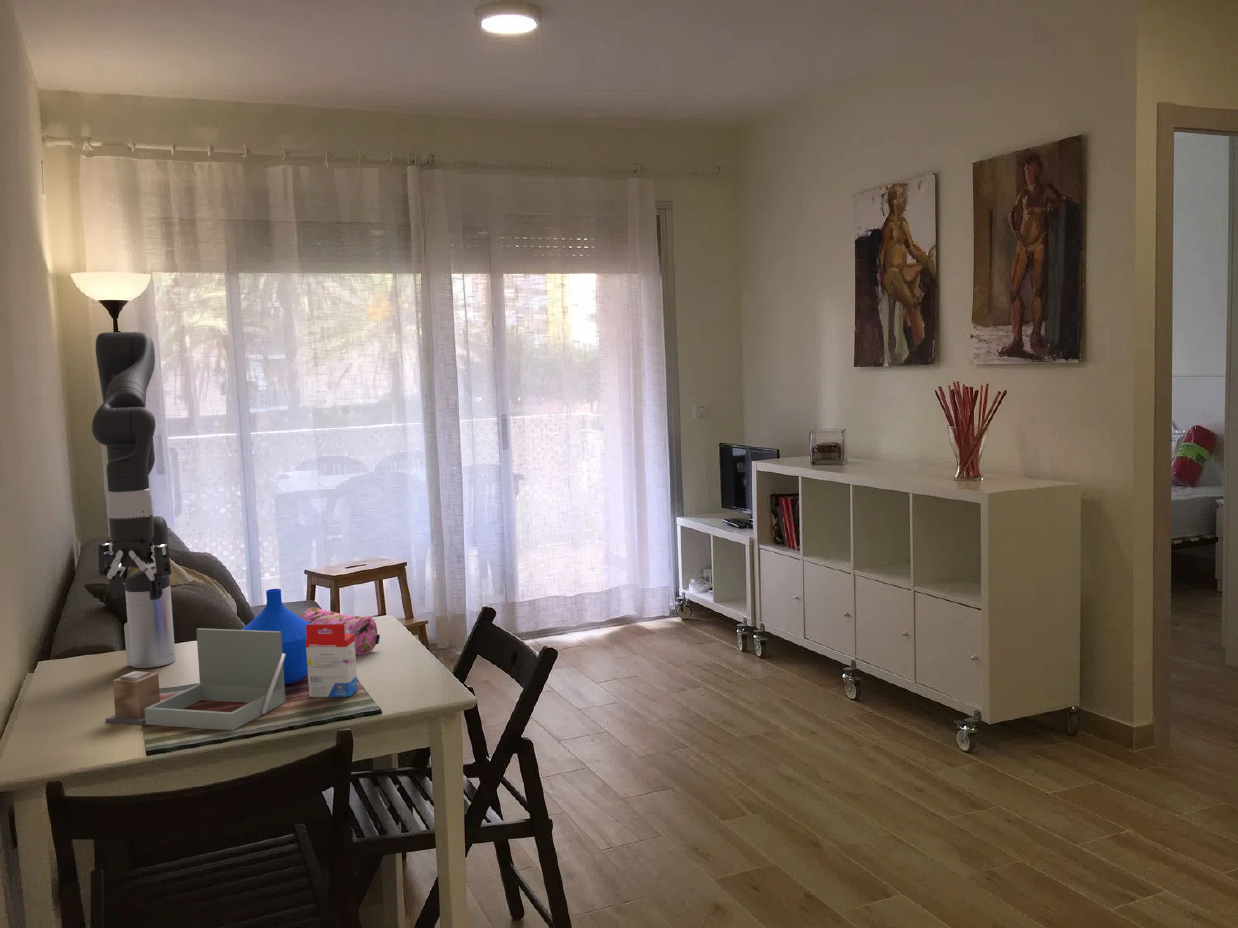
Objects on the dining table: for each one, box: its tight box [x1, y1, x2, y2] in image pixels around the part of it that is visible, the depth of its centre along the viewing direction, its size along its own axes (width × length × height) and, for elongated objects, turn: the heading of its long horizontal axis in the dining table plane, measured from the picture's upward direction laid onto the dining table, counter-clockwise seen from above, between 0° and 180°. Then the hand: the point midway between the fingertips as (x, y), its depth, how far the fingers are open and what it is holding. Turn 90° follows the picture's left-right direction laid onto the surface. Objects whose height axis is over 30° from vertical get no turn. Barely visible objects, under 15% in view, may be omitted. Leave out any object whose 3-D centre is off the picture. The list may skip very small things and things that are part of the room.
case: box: [145, 627, 286, 731], centre depth 193 cm, size 19×16×14 cm
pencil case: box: [299, 607, 381, 656], centre depth 239 cm, size 21×9×9 cm, turn 56°
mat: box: [104, 714, 146, 725], centre depth 194 cm, size 8×8×1 cm
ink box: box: [305, 624, 359, 698], centre depth 203 cm, size 8×5×15 cm, turn 84°
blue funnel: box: [241, 588, 320, 685], centre depth 214 cm, size 18×18×19 cm
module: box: [112, 670, 161, 719], centre depth 193 cm, size 6×6×8 cm
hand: (136, 598), depth 194 cm, fingers open, 8 cm apart
